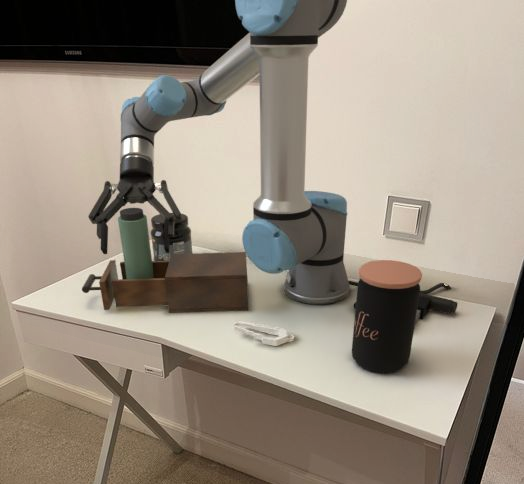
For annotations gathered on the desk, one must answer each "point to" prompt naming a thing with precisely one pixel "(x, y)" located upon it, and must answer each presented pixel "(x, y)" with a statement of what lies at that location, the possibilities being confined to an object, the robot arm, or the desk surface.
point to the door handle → (432, 305)
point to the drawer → (130, 287)
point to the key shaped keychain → (268, 329)
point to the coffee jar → (385, 315)
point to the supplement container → (170, 238)
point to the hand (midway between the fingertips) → (135, 251)
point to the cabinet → (207, 282)
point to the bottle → (135, 244)
